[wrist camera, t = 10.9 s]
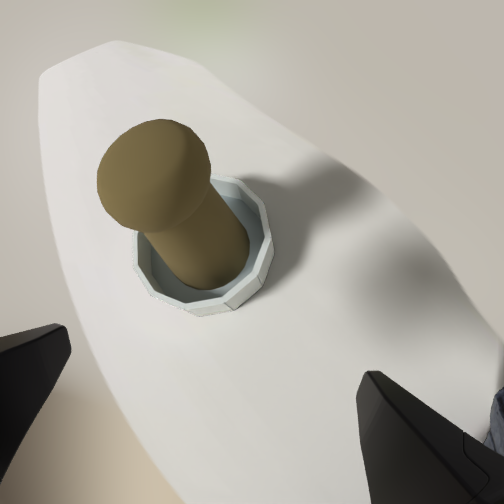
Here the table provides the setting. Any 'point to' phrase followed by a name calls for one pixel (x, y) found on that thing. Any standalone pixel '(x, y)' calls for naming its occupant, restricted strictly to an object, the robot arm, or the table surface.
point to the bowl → (234, 293)
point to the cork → (173, 202)
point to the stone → (497, 424)
